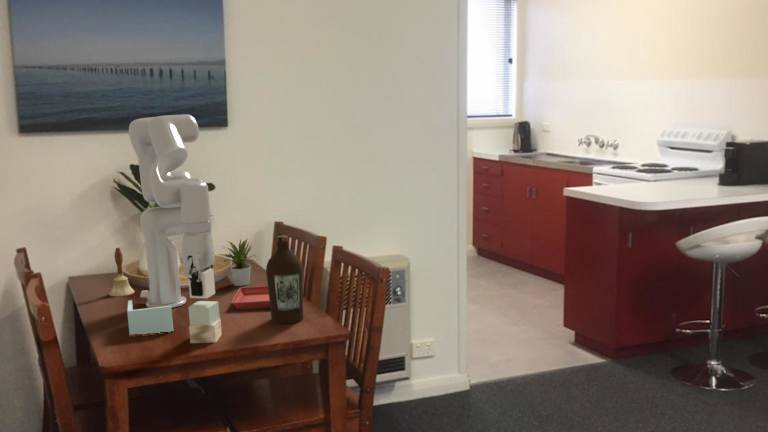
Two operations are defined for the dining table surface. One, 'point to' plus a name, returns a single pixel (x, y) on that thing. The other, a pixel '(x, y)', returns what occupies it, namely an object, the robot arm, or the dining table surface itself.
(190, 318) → the sage block
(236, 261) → the house plant
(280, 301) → the olive oil
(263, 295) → the plant saucer
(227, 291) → the dining table surface
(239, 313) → the dining table surface
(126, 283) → the hand bell
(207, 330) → the oak base block
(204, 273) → the cream block
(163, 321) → the l-shaped corner panel
